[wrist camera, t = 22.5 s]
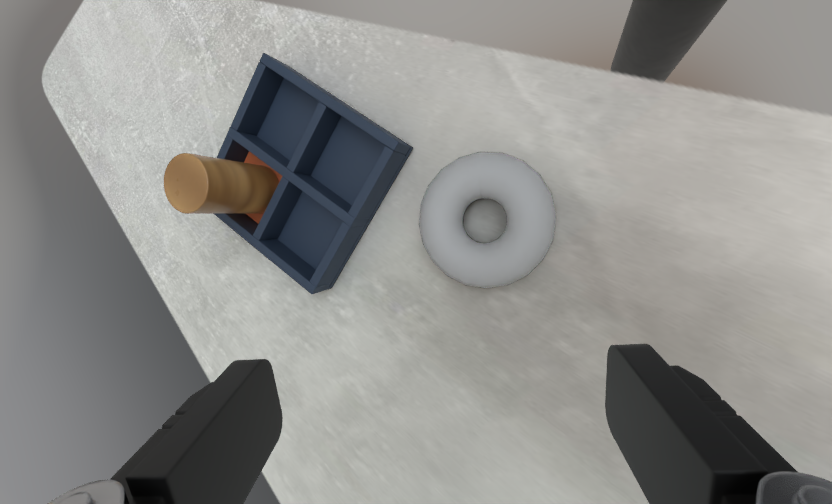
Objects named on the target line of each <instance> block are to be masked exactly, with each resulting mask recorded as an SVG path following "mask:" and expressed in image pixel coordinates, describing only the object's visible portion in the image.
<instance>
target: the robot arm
mask: <svg viewBox="0 0 832 504" xmlns="http://www.w3.org/2000/svg"><path fill="white" fill-rule="evenodd" d="M605 408H606V416H607V421H608V425H609V428H610V431H611V433H612V435H613V437H614V439H615V441H616V443H617V444H618V446H619V448H620V450H621V452H622V454H623V456H624V457H625V459H626V461H627V463H628V465H629V467H630V469H631V470H632V472H633V474H634V476H635V478H636V480H637V482H638V483H639V485H640V487H641V489H642V491H643V493H644V494H645V496H646V498H647V500H648V502H649V504H832V482H830V481H828V480H825V479H823V478H819V477H816V476H813V475H809V474H804V473H798V472H797V471H796V470H795V469H794V468H793V467H792V466H791V465H790V464H789V463H788V462H787V461H786V460H785V459H784V458H783V457H782V456H781V455H780V454H779V453H778V452H777V451H776V450H775V449H774V448H773V447H772V446H770V445H769V444H768V443H767V442H766V441H765V440H764V439H763V438H762V437H761V436H760V435H759V434H758V433H757V432H756V431H755V430H754V429H753V428H752V427H751V426H750V425H749V424H748V423H747V422H746V421H745V420H744V419H743V418H742V417H741V416H737V415H736V411H735V410H734V409H733V408H732V407H731V406H730V405H729V404H728V403H726V402H725V401H724V400H721V397H720V396H719V395H718V394H717V393H716V392H715V391H714V390H713V389H712V388H711V387H710V386H709V385H708V384H707V383H706V382H705V381H704V380H703V379H701V378H699V377H698V376H696V375H694V374H692V373H690V372H689V371H687V370H685V369H683V368H681V367H680V366H669V365H668V364H667V363H666V362H665V361H664V360H663V359H662V357H661V356H660V355H659V354H658V353H657V352H656V351H655V350H654V349H653V348H652V347H651V346H650V345H648V344H629V345H611V346H610V348H609V350H608V356H607V378H606V400H605ZM281 429H282V411H281V406H280V401H279V397H278V392H277V388H276V383H275V379H274V374H273V370H272V366H271V364H270V362H269V361H268V360H266V359H258V360H237V361H234V362H232V363H231V364H230V365H229V366H228V367H227V369H226V370H225V371H224V372H223V373H222V374H221V375H220V376H219V377H218V378H217V379H216V380H215V381H214V382H212V383H210V384H208V385H207V386H205V387H204V388H202V389H201V390H199V391H198V392H196V393H195V394H193V395H192V396H190V398H188V400H187V401H186V402H185V403H184V404H183V405H182V406H181V407H180V408H179V409H178V410H177V411H176V414H175V415H172V416H171V417H170V418H169V419H168V420H167V421H166V422H165V423H164V424H163V425H162V429H158V430H157V432H155V434H154V435H153V436H152V437H151V438H150V439H149V440H148V441H147V442H146V443H145V444H144V445H143V446H142V447H141V448H140V449H139V450H138V451H137V452H136V453H135V454H134V455H133V456H132V457H131V458H130V459H129V461H127V463H125V465H123V467H122V468H121V469H120V470H119V471H118V472H117V473H116V474H115V475H114V476H113V477H112V478H111V479H110V480H99V481H95V482H91V483H87V484H84V485H82V486H79V487H77V488H74V489H72V490H70V491H68V492H66V493H64V494H63V495H61V496H59V497H57V498H56V499H54V500H52V501H51V502H50V503H48V504H243V503H244V502H245V500H246V498H247V496H248V494H249V492H250V491H251V489H252V487H253V485H254V483H255V481H256V480H257V478H258V476H259V474H260V472H261V471H262V469H263V467H264V465H265V463H266V461H267V460H268V458H269V456H270V454H271V452H272V451H273V449H274V447H275V445H276V443H277V441H278V439H279V437H280V433H281Z"/></svg>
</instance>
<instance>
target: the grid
mask: <svg viewBox="0 0 832 504" xmlns="http://www.w3.org/2000/svg"><path fill="white" fill-rule="evenodd" d="M412 149H413V147H411V146H409V145H408V144H406V143H405V142H403V141H402V140H400V139H399V138H397V137H396V136H394V135H393V134H391V133H390V132H388V131H387V130H385V129H384V128H382V127H380V126H379V125H377V124H376V123H374V122H373V121H371V120H370V119H368V118H367V117H365V116H364V115H362V114H361V113H359V112H358V111H356V110H355V109H353V108H351V107H350V106H348V105H347V104H345V103H344V102H342V101H341V100H339V99H338V98H336V97H335V96H333V95H332V94H330V93H329V92H327V91H326V90H324V89H322V88H321V87H319V86H318V85H316V84H315V83H313V82H312V81H310V80H309V79H307V78H306V77H304V76H303V75H301V74H300V73H298V72H297V71H295V70H293V69H292V68H290V67H289V66H287V65H286V64H284V63H282V62H280V61H278V60H276V59H274V58H273V57H271V56H269V55H267V54H265V53H263V55H262V57H261V59H260V62H259V63H258V66H257V68H256V70H255V73H254V75H253V77H252V79H251V82H250V84H249V86H248V88H247V91H246V93H245V95H244V97H243V100H242V102H241V104H240V106H239V109H238V111H237V113H236V116H235V118H234V120H233V122H232V125H231V127H230V129H229V131H228V133H227V136H226V138H225V140H224V142H223V145H222V147H221V149H220V151H219V154H218V156H217V158H220V159H226V160H232V161H238V162H244V163H250V164H257V165H263V166H266V167H268V168H270V169H271V170H272V171H273V172H274V173H275V174H276V176H277V178H278V181H279V184H278V186H277V188H276V190H275V192H274V194H273V196H272V198H271V200H270V202H269V204H268V206H267V208H266V210H265V212H264V213H213V214H215V215H216V216H217V217H218V218H219V219H221V220H222V221H223V222H224V223H226V224H227V225H228V226H229V227H230V228H232V229H233V230H234V231H235V232H237V233H238V234H239V235H240V236H241V237H243V238H244V239H245V240H246V241H247V242H249V243H250V244H251V245H252V246H254V247H255V248H256V249H257V250H258V251H260V252H261V253H262V254H263V255H265V256H266V257H267V258H268V259H269V260H271V261H272V262H273V263H274V264H275V265H277V266H278V267H279V268H280V269H282V270H283V271H284V272H285V273H286V274H288V275H289V276H290V277H291V278H293V279H294V280H295V281H296V282H297V283H299V284H300V285H301V286H302V287H303V288H305V289H306V290H307V291H308V292H310V293H311V294H315V293H318V292H321V291H324V290H327V289H330V288H332V286H333V285H334V283H335V281H336V279H337V278H338V276H339V274H340V273H341V271H342V269H343V267H344V266H345V264H346V262H347V261H348V259H349V257H350V255H351V254H352V252H353V250H354V249H355V247H356V245H357V243H358V242H359V240H360V238H361V237H362V235H363V233H364V231H365V230H366V228H367V226H368V225H369V223H370V221H371V219H372V218H373V216H374V214H375V213H376V211H377V209H378V207H379V206H380V204H381V202H382V201H383V199H384V197H385V195H386V194H387V192H388V190H389V189H390V187H391V185H392V183H393V182H394V180H395V178H396V177H397V175H398V173H399V171H400V170H401V168H402V166H403V165H404V163H405V161H406V159H407V158H408V156H409V154H410V153H411V151H412Z"/></svg>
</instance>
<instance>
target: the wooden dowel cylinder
mask: <svg viewBox="0 0 832 504" xmlns="http://www.w3.org/2000/svg"><path fill="white" fill-rule="evenodd" d="M278 184H279V181H278V178H277V176H276V174H275V173H274V172H273V171H272V170H271V169H270V168H268V167H266V166H263V165H257V164H250V163H244V162H238V161H232V160H226V159H220V158H213V157H207V156H201V155H195V154H188V153H183V154H179V155H177V156H175V157H174V158H173V159H172V160H171V161H170V162H169V164H168V166H167V168H166V171H165V175H164V189H165V193H166V196H167V198H168V201H169V202H170V204H171V205H172V206H173V207H174V208H175V209H176V210H178V211H180V212H182V213H264V212H265V210H266V208H267V206H268V204H269V202H270V200H271V198H272V196H273V194H274V192H275V190H276V188H277V186H278Z"/></svg>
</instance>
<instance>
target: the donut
mask: <svg viewBox="0 0 832 504" xmlns="http://www.w3.org/2000/svg"><path fill="white" fill-rule="evenodd" d="M481 198H490V199H493V200H495V201H497V202H498V203H499V204H500V205H502V207H503V208H504V210H505V212H506V215H507V226H506V229H505V231H504V233H503V234H502V235H501V236H500V237H499V238H498V239H497V240H495V241H493V242H490V243H478V242H476V241H474V240H472V239H471V238H470V237H469V236H468V235H467V233H466V231H465V230H464V226H463V214H464V212H465V210H466V208H467V207H468V206H469V204H470V203H471V202H473V201H475V200H477V199H481ZM555 222H556V213H555V208H554V203H553V198H552V194H551V192H550V191H549V189H548V187H547V186H546V184H545V182H544V181H543V179H542V177H541V175H540V174H538V173H537V172H536V171H535V170H534V169H533V168H531V167H530V166H529V165H528V164H527V163H525V162H524V161H523V160H520V159H518V158H515V157H512V156H510V155H507V154H505V153H498V152H477V153H474V154H470V155H467V156H463V157H460V158H458V159H456V160H455V161H453V162H452V163H450V164H449V165H447V166H446V167H444V168H443V169H441V171H440V172H439V173H438V174H437V175H436V177H435V178H434V179H433V180H432V182H431V183H430V184H429V185H428V188H427V190H426V193H425V195H424V198H423V200H422V203H421V207H420V219H419V227H420V232H421V237H422V241H423V245H424V247H425V249H426V250H427V252H428V254H429V256H430V258H431V259H432V261H433V263H435V264H436V265H437V266H438V267H439V268H440V269H441V270H442V271H443V272H444V273H445V274H446V275H447V276H449V277H451V278H453V279H455V280H457V281H459V282H461V283H463V284H465V285H469V286H476V287H482V288H491V287H497V286H503V285H509V284H511V283H513V282H515V281H517V280H519V279H521V278H523V277H525V276H526V275H528V274H529V273H530V272H531V271H532V270H533V269H534V268H535V267H536V266H537V265H538V264H539V263H540V262H541V261H542V260H543V259H544V257H545V255H546V253H547V251H548V249H549V247H550V245H551V243H552V241H553V237H554V230H555Z"/></svg>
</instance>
